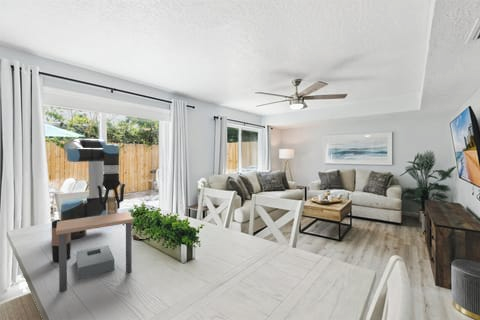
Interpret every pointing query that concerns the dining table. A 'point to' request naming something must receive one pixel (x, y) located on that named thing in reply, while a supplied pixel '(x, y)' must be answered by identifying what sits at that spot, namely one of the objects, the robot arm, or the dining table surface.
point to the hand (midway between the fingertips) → (111, 215)
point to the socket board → (94, 261)
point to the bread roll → (135, 237)
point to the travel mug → (56, 242)
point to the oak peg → (111, 204)
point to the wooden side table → (87, 224)
